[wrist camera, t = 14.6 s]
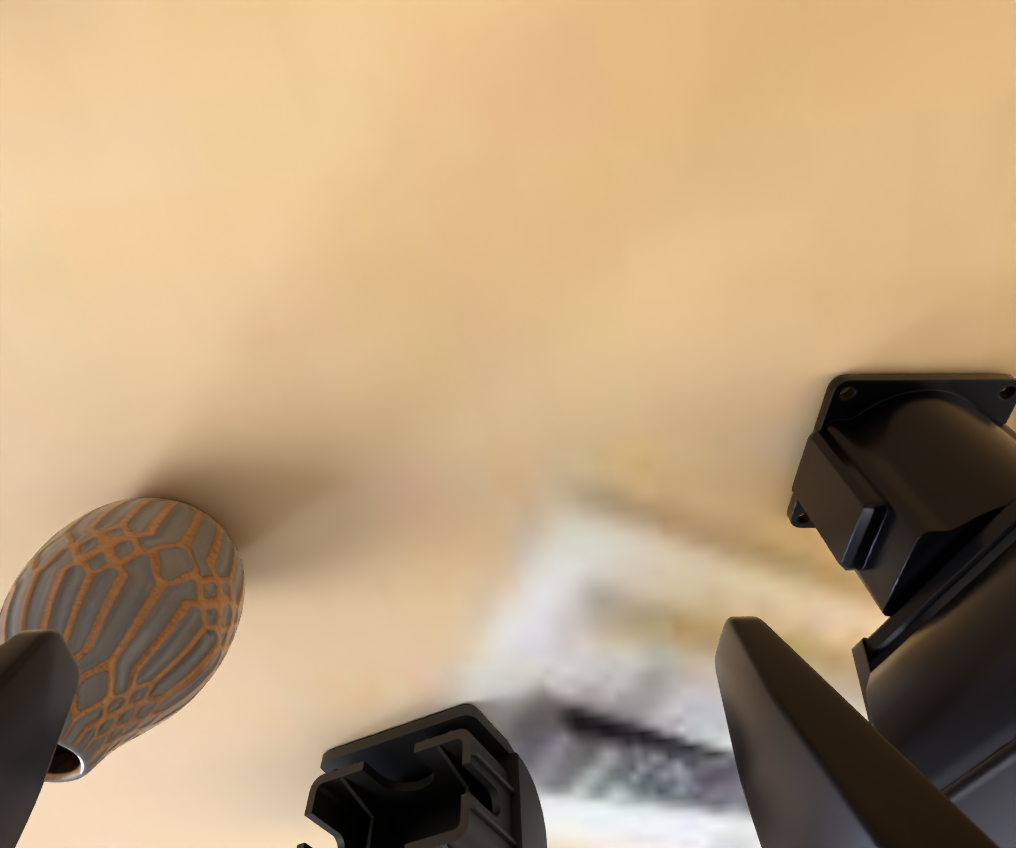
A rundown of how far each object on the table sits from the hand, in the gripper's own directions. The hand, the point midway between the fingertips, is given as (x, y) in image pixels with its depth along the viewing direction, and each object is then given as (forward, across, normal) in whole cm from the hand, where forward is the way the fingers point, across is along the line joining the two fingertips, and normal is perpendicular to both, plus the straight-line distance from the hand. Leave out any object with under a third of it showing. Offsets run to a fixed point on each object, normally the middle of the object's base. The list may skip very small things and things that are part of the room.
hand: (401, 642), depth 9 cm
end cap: (+13, +2, +26) cm, 29 cm away
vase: (+13, +11, +10) cm, 20 cm away
